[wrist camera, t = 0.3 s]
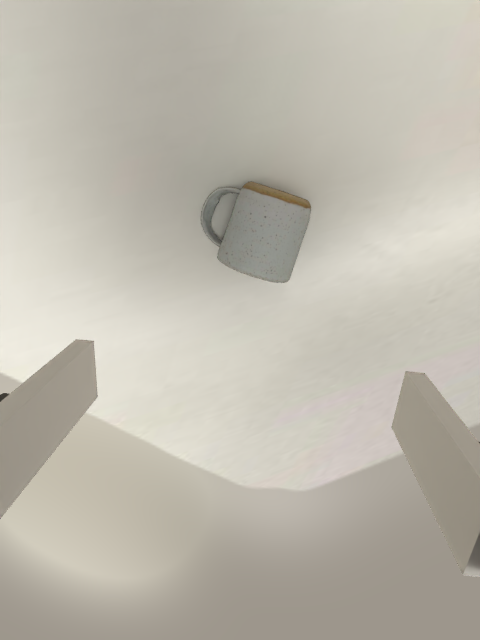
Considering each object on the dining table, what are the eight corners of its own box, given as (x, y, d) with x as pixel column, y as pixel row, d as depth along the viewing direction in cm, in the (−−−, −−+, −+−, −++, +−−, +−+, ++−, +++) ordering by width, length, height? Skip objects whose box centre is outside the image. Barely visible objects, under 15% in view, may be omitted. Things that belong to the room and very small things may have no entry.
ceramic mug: (312, 199, 40) (319, 203, 32) (287, 273, 42) (288, 292, 35) (214, 169, 40) (200, 166, 32) (196, 245, 42) (178, 258, 35)
